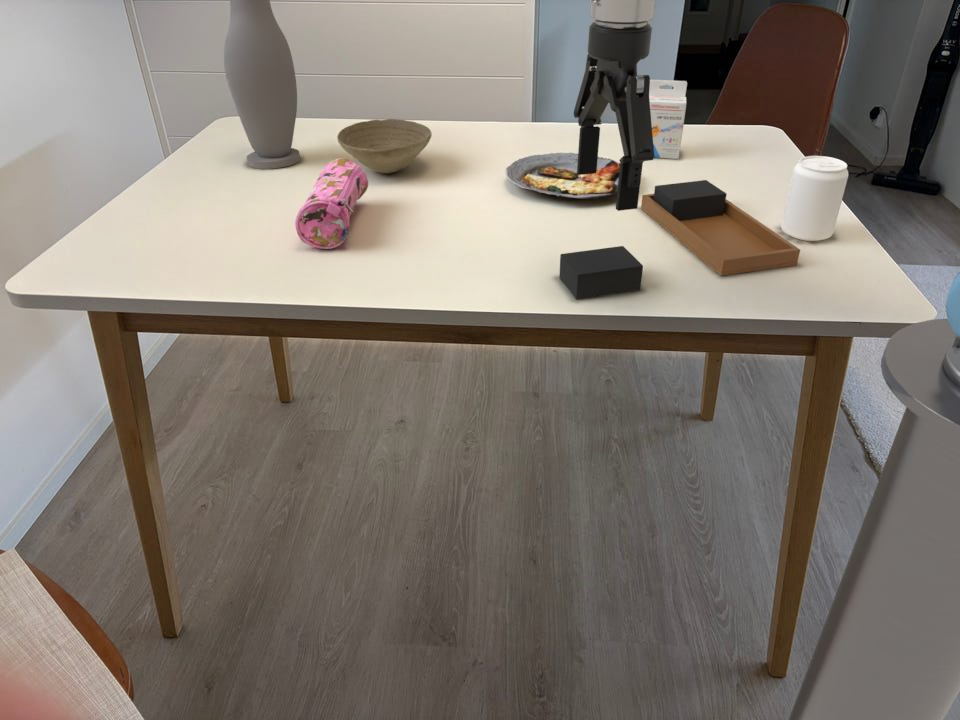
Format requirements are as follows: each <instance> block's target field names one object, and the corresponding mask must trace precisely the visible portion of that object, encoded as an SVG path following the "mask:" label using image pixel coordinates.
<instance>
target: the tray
mask: <svg viewBox="0 0 960 720" xmlns="http://www.w3.org/2000/svg"><path fill="white" fill-rule="evenodd" d="M653 199H654V193H648V194H642V195H641V205H640V209H641V210H642V211H643V212H644V213H646V215H647V216H649V217H650V218H651V219H653V220H654V221H655V222H656V223H657V224H659V225H660V226H661V227H662V228H663V229H664V230H665V231H667V233H669V234H670V235H671V236H672V237H674V238H675V239H676V240H677V241H679V242H680V243H681V244H682V245H683V246H684V247H685V248H687V249H688V250H689V251H690V252H692V253H693V255H695V256H696V257H697V258H699V259H700V260H701V261H702V262H704V263H705V264H706V265H707V266H708V267H709V268H710V269H712V270H713V271H714V272H715V273H716V274H718V275H719V276H720V277H724V276H731V275H738V274H744V273H751V272H758V271H764V270H771V269H777V268H779V269H780V268H785V267H793V266H797V265H798V261H799V259H800V254H801V248H799V247H797V246H796V245H795V244H793V243H792V242H790V241H789V240H788V239H785V238H784V237H782V236H781V235H780V234H778V233H776V232H775V231H774V230H772V229H771V228H769V227H768V226H767V225H765V224H763V223H762V222H760V221H759V220H757V218H754V217H753V216H751V215H750V214H749V213H748V212H746V211H744V210H743V209H741V208H740V207H738V206H737V205H736V204H734V203H732V202H731V201H730V200H728V199H726V200H725V206H724V212H723V215H722V216H714V217H706V218H698V219H690V220H682V221H679V220H678V219H676V218H675V217H674V216H673V215H671V214H670V213H669V212H668V211H666V210H665V209H664V208H663V207H661V206H660V205H659V204H658V203H656V202H655V201H654V200H653Z"/></svg>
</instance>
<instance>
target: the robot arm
mask: <svg viewBox="0 0 960 720" xmlns="http://www.w3.org/2000/svg"><path fill="white" fill-rule="evenodd" d="M588 1H589V2H590V3H591V4H590V5H591V6H590V18H591V19H592V20H593V22H592V23H591V25H589V27H588V40H587V41H588V42H587V55H586V60H585V61H586V62H585V71H584V74H583V77H582V81H581V85H580V87H579V92H578V95H577V99H576V102H575V106H574V110H573V117H574V119H578V120H577V123H578V126H579V136H578V153H577V154H578V164H577V174H578V175H583V174H592V173H596V171H597V159H598V157H599V145H600V136H601V135H600V134H601V127H600V126H599V125H602V124H603V123H602V116H603V114H604V112H605V110H606V108H607V106H608V104H609V106H610V107H609V108H610V110H611V111H612V112H613V113H615V117H616V118H615V119H616V123H617V128H618V132H619V133H618V134H619V137H620V142H621V143H620V144H621V146H622V152H623V155H622V156H621V157H620V159H619V160H618V162H619V163H620V170H619V180H618V190H617V194H616V200H615V201H616V202H615V210H616V211H617V212H620V211H621V212H622V211H628V210H629V211H630V210H636V209H637V210H638V204H639V197H640V188H641V181H642V173H643V164H644V162H648V161H653V160H655V158H654V147H653V135H652V124H651V112H650V101H649V88H650V80H651V76H650V75H649V74H644V75H643V74H640V75H639V74H638V63H639V62H640V61H641V60H644V59H647V58H648V57H649V55H650V49H651V41H652V33H653V32H652V31H653V27H652V26H651V24H650V23H649V22H651V21H652V20H653V19H654V16H655V7H656V6H655V5H656V0H588ZM945 312H946V313H945V314H946V317H947V318H948V321H949V324H950V326H951V328H952V330H953V332H954V333H955V335H956V337H955V338H954V339H953V341H952V342H951V344H950V345H949V347H948V349H947V352H946V354H945V357H944V360H943V365H944V369H945V371H946V373H947V375H948V376H949V377H950V379H951V380H952V381H953V382H954V383H955V384H957V385H958V386H959V387H960V271H958V273H956V275H955V276H954V280H953V281H951V285H950V287H949V289H948V292H947V294H946V300H945ZM947 318H946V319H947Z"/></svg>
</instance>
